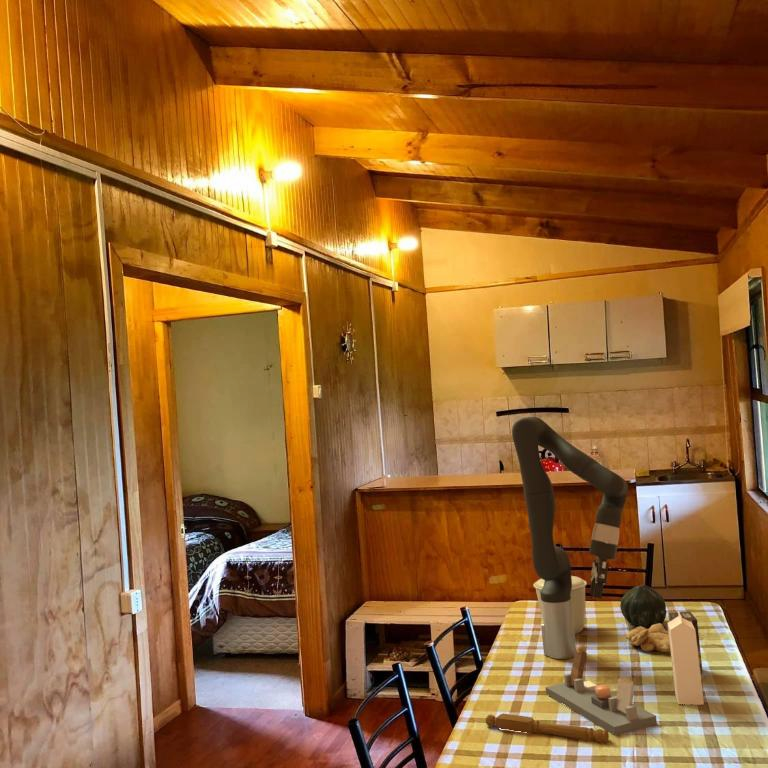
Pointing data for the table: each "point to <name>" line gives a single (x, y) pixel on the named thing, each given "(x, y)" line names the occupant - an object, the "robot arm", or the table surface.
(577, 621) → the canister
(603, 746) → the table surface
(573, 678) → the walnut lever
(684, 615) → the coffee box
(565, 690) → the control panel
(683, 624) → the milk
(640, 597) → the squash
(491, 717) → the turned wooden table leg
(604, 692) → the terracotta button
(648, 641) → the ginger root
